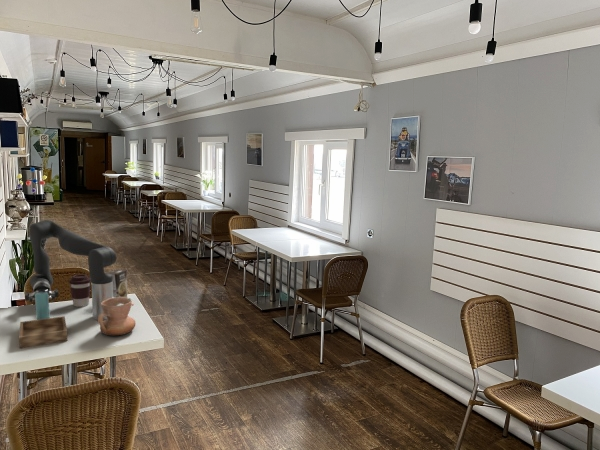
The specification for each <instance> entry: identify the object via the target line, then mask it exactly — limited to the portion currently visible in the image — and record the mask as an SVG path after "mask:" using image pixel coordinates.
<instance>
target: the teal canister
mask: <svg viewBox="0 0 600 450" xmlns="http://www.w3.org/2000/svg"><path fill="white" fill-rule="evenodd" d="M49 299H50V298H48V292H38V293H36V294H35V300H34V302H35V303H34V304H35V315H36V319H35V320H39V319H47V318H51V315H50V303H49V302H50V301H49Z"/></svg>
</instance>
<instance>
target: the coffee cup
mask: <svg viewBox="0 0 600 450" xmlns="http://www.w3.org/2000/svg"><path fill="white" fill-rule="evenodd" d="M90 283H91V278H90V276H88V274H85V273H84V274H82V273H80V274H75V275H72V277H71V278H69V280H68V284H70V292H71V299H72V305H73V306H74V307H76V308H77V307H80V308H81V307H86V306H88V305H89V304H90V295H91V294H90V293H91V292H90V291H91V284H90Z"/></svg>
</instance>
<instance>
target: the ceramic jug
mask: <svg viewBox="0 0 600 450" xmlns="http://www.w3.org/2000/svg"><path fill="white" fill-rule="evenodd" d="M132 301H133V300H132V299H131V298H130V297H128V296H127V297H115V298H110V299H107V300H105V301H103V302H102V303H101V306H102V309H103V311H104V312H103V313H101V314H100V315H99V316H98V320H97V321H98V324H99V326H100V327H99V329H100V332H102V334H105V335H108V336H123V335H126V334H128V333H130V332H132V331H133V330H134V329H135V327H136V320H135V319H134V318H133V317H131V316H129V313H130V311H131V307H132V306H134V305H135V303H134V302H132ZM104 316H106V317H107V319H105V320H103V317H104Z"/></svg>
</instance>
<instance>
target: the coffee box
mask: <svg viewBox="0 0 600 450" xmlns="http://www.w3.org/2000/svg"><path fill="white" fill-rule="evenodd" d="M107 273H108V274H111V275H112V277H113V297H114V298H115V297H127V298H128V281H127V280H128V276H127V273H128V272H127V269H117V268H116V269H114V270H111V271H108V272H107Z"/></svg>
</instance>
